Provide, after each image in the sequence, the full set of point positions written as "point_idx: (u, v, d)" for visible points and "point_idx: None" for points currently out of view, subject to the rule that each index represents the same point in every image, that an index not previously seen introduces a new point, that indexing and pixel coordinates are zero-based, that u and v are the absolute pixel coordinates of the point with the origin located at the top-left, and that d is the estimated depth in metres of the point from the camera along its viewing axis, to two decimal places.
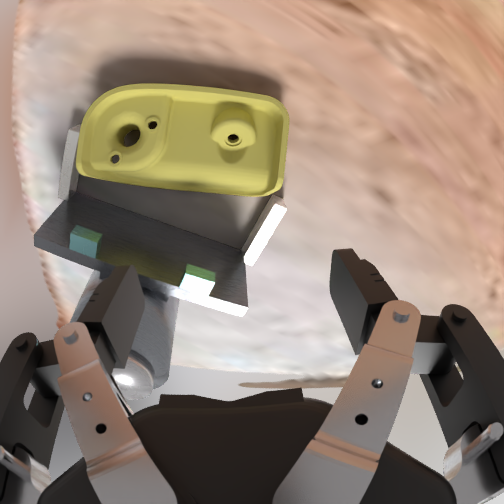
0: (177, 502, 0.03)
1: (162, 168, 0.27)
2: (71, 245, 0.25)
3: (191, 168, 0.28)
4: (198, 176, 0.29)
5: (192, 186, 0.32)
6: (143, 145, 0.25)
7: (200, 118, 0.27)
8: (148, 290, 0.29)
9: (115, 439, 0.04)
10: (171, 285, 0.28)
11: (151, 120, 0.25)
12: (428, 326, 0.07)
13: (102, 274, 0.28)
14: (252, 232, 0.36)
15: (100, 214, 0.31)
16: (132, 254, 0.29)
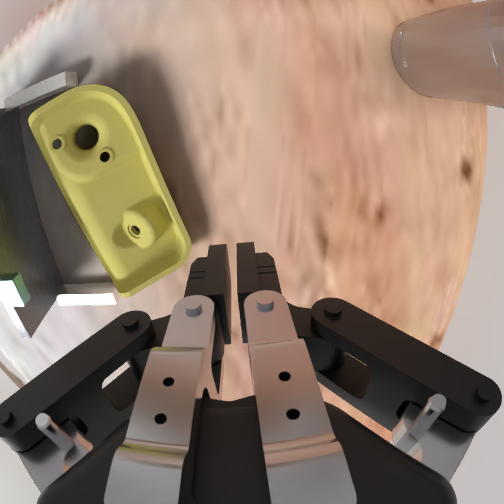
0: None
1: (73, 189, 0.23)
2: None
3: (88, 214, 0.25)
4: (86, 223, 0.25)
5: (78, 215, 0.28)
6: (81, 162, 0.21)
7: (135, 190, 0.26)
8: None
9: (166, 437, 0.04)
10: None
11: (108, 152, 0.22)
12: (301, 318, 0.08)
13: None
14: (81, 286, 0.32)
15: (10, 154, 0.21)
16: None
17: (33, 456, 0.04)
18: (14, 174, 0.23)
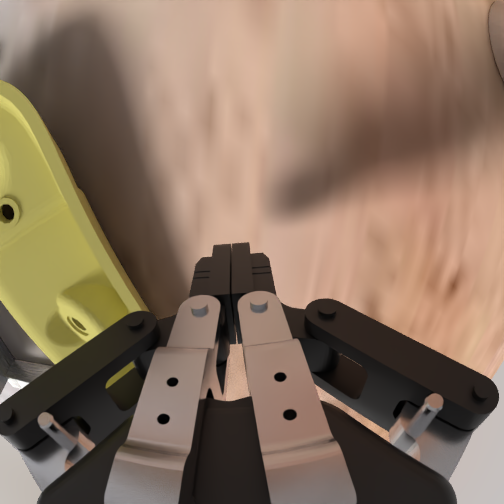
0: None
1: None
2: None
3: (5, 299, 0.12)
4: (7, 309, 0.13)
5: None
6: None
7: (70, 263, 0.14)
8: None
9: (168, 437, 0.04)
10: None
11: (12, 204, 0.10)
12: (295, 319, 0.08)
13: None
14: (33, 367, 0.20)
15: None
16: None
17: (35, 455, 0.04)
18: None
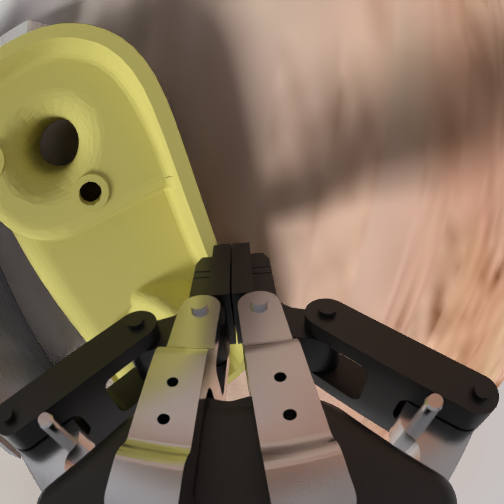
0: None
1: (32, 251, 0.11)
2: None
3: (65, 298, 0.12)
4: (63, 309, 0.13)
5: None
6: (40, 204, 0.09)
7: (153, 256, 0.14)
8: None
9: (168, 437, 0.04)
10: None
11: (98, 183, 0.10)
12: (295, 319, 0.08)
13: None
14: None
15: None
16: None
17: (35, 455, 0.04)
18: None
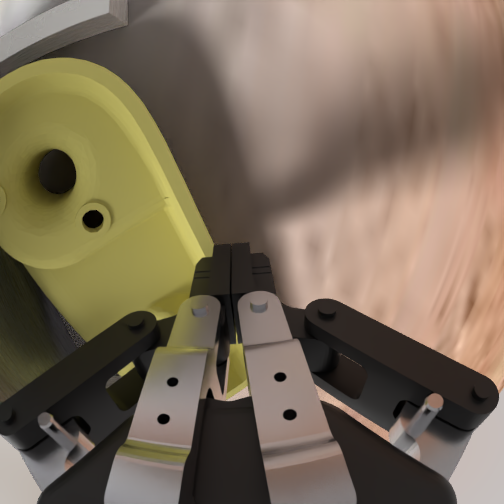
0: None
1: (43, 280, 0.11)
2: None
3: (79, 320, 0.13)
4: (78, 331, 0.14)
5: None
6: (46, 236, 0.10)
7: (161, 273, 0.14)
8: None
9: (168, 437, 0.04)
10: None
11: None
12: (295, 319, 0.08)
13: None
14: None
15: None
16: None
17: (35, 455, 0.04)
18: None
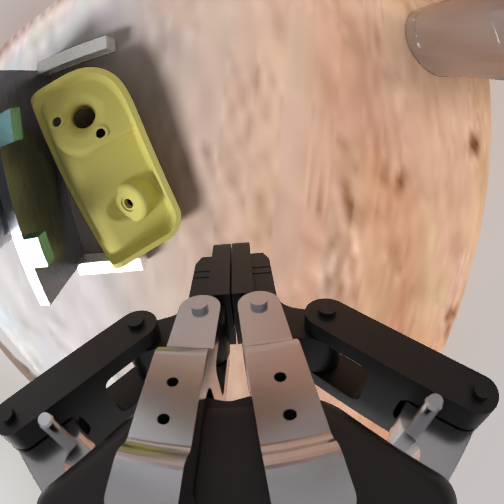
0: None
1: (71, 165, 0.24)
2: None
3: (84, 188, 0.25)
4: (82, 197, 0.26)
5: (75, 193, 0.28)
6: (79, 138, 0.22)
7: (128, 165, 0.27)
8: (3, 213, 0.20)
9: (168, 437, 0.04)
10: (20, 232, 0.21)
11: (104, 129, 0.23)
12: (295, 319, 0.08)
13: None
14: (104, 254, 0.33)
15: None
16: (21, 175, 0.20)
17: (35, 455, 0.04)
18: (42, 135, 0.23)
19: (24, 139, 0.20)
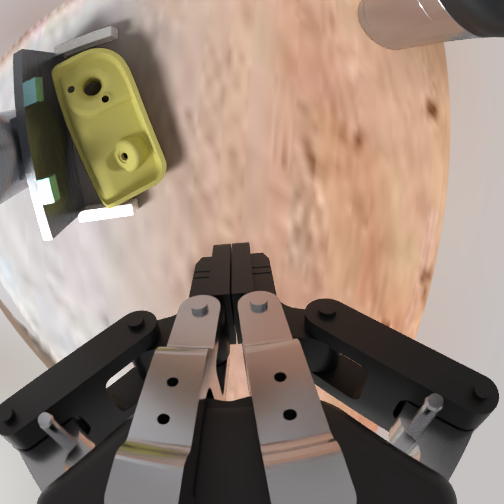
0: None
1: (79, 124, 0.29)
2: (25, 83, 0.20)
3: (89, 143, 0.30)
4: (87, 151, 0.31)
5: (81, 150, 0.33)
6: (88, 102, 0.27)
7: (126, 126, 0.32)
8: (21, 161, 0.25)
9: (168, 437, 0.04)
10: (34, 174, 0.25)
11: (108, 96, 0.28)
12: (295, 319, 0.08)
13: (14, 119, 0.23)
14: (102, 204, 0.38)
15: None
16: (39, 131, 0.25)
17: (35, 455, 0.04)
18: (57, 104, 0.28)
19: (43, 104, 0.25)
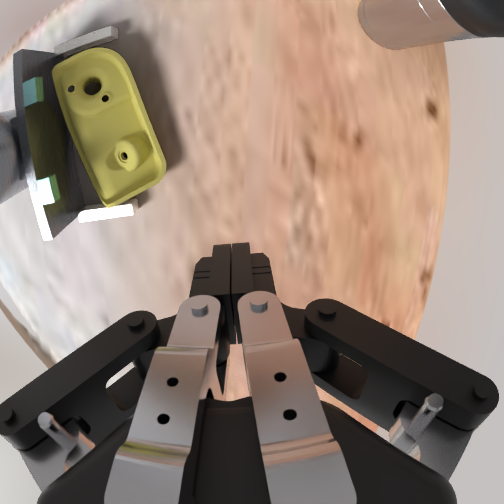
0: None
1: (79, 123, 0.29)
2: (25, 83, 0.20)
3: (89, 142, 0.30)
4: (87, 150, 0.31)
5: (81, 149, 0.33)
6: (88, 102, 0.27)
7: (126, 125, 0.32)
8: (21, 161, 0.25)
9: (168, 438, 0.04)
10: (34, 174, 0.25)
11: (108, 95, 0.28)
12: (295, 319, 0.08)
13: (14, 119, 0.23)
14: (102, 204, 0.38)
15: None
16: (39, 131, 0.25)
17: (35, 455, 0.04)
18: (57, 104, 0.28)
19: (43, 104, 0.25)
